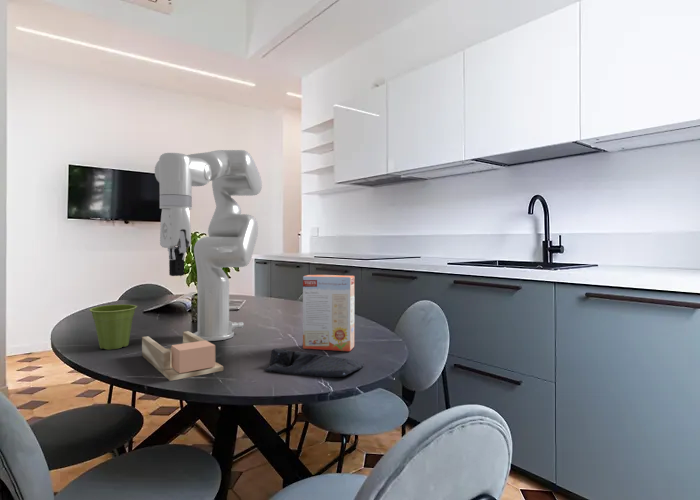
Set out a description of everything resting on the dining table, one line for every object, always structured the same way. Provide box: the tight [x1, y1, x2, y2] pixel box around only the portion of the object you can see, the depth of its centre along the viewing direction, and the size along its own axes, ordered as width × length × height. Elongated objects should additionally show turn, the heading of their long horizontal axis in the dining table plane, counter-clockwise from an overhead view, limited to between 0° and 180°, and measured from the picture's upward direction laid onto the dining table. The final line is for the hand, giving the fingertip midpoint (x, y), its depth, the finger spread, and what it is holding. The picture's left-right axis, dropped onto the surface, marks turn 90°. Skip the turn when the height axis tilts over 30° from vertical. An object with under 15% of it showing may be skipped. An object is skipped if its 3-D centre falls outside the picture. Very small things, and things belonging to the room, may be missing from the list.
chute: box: [141, 330, 224, 382], centre depth 106 cm, size 12×25×5 cm, turn 39°
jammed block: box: [170, 340, 216, 373], centre depth 98 cm, size 8×6×5 cm
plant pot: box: [89, 303, 138, 351], centre depth 121 cm, size 12×12×11 cm
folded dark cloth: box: [264, 348, 365, 378], centre depth 103 cm, size 15×22×5 cm
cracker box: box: [302, 274, 355, 352], centre depth 121 cm, size 14×6×21 cm, turn 77°
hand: (176, 275), depth 108 cm, fingers closed
